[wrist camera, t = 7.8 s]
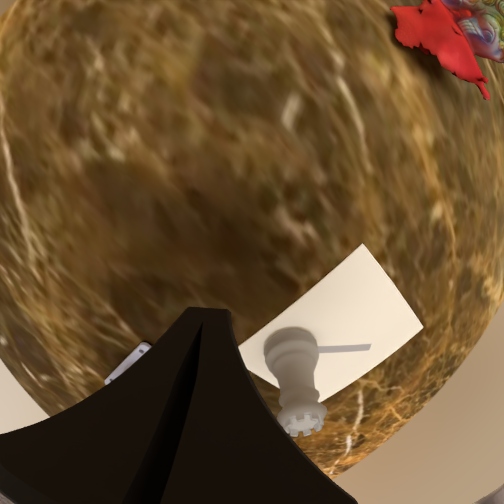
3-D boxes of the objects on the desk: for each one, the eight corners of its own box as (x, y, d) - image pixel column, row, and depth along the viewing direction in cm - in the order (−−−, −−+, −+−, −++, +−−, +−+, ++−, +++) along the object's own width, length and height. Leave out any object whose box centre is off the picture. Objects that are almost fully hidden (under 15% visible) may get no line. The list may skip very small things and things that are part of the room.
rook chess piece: (327, 341, 21) (353, 418, 14) (291, 371, 22) (303, 447, 15) (287, 316, 20) (304, 400, 13) (252, 351, 21) (253, 433, 14)
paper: (312, 405, 25) (312, 406, 25) (226, 354, 22) (226, 355, 22) (422, 326, 21) (423, 327, 21) (362, 242, 18) (362, 243, 18)
